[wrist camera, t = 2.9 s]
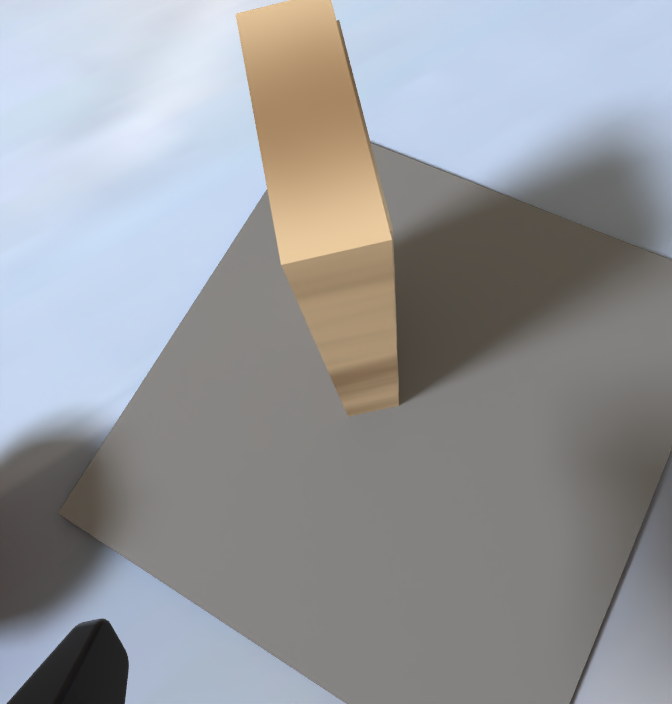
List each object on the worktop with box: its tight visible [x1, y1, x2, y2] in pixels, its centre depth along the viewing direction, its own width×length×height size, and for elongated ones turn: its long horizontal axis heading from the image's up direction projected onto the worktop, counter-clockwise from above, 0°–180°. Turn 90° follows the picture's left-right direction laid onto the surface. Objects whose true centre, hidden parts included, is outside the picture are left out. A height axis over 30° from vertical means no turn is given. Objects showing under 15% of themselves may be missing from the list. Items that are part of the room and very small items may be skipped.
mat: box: [58, 143, 672, 704], centre depth 23 cm, size 19×20×1 cm
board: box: [236, 0, 399, 417], centre depth 17 cm, size 6×2×13 cm, turn 11°
